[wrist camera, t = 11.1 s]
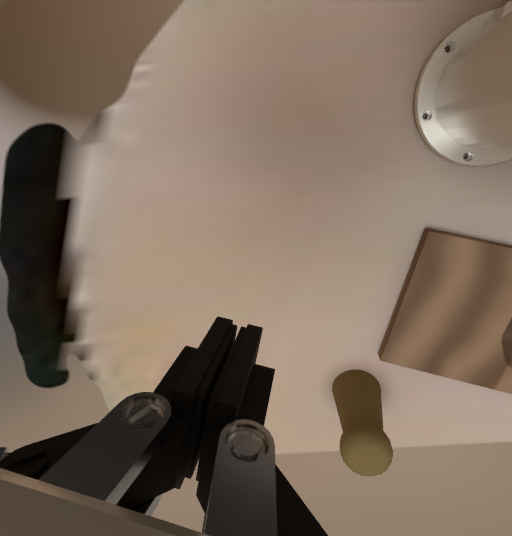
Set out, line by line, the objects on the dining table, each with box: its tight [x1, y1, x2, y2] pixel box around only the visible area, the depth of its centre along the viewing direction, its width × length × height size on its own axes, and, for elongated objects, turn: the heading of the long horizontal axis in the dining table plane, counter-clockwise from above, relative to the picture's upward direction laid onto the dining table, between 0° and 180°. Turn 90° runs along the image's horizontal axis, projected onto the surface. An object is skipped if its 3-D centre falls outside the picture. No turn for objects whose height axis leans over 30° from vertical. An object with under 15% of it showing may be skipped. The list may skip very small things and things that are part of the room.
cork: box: [332, 370, 393, 476], centre depth 38 cm, size 6×6×11 cm
